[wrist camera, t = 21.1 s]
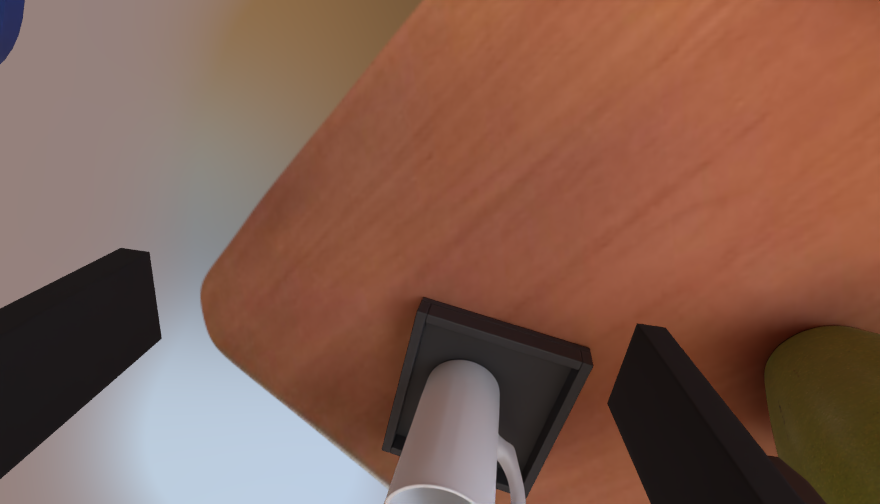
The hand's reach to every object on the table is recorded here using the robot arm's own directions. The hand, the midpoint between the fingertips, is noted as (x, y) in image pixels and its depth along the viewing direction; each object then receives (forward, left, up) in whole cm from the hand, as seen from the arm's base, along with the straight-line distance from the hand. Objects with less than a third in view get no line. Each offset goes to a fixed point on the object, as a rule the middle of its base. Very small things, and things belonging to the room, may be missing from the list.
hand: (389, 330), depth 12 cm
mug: (+6, -19, -19) cm, 27 cm away
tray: (+6, -19, -20) cm, 28 cm away
